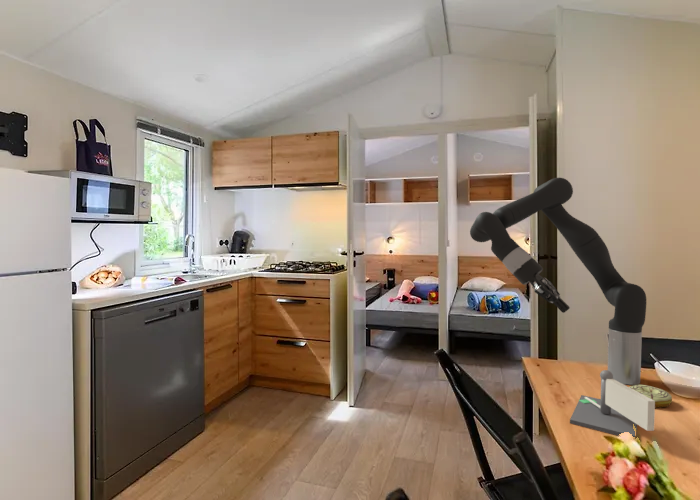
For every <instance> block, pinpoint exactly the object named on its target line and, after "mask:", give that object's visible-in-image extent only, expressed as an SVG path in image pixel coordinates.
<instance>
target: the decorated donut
mask: <svg viewBox="0 0 700 500" xmlns="http://www.w3.org/2000/svg"><path fill="white" fill-rule="evenodd" d="M628 387H629V388H631V389H633V390H635V391H637V392H639V393H641V394H643V395H645V396H646V397H648V398H650V399H652V400H654V401H655V408H657V409H658V408H666V407H669V406H670V405H671V403H672V402H673V396H672V394H670V393H669V392H668V391H667V390H664V389H662V388H660V387H659V388H658V387H656V386H655V387H654V386H651V385H648V384H636V385H629V386H628Z"/></svg>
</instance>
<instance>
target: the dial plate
mask: <svg viewBox="0 0 700 500" xmlns="http://www.w3.org/2000/svg"><path fill="white" fill-rule="evenodd" d="M584 397H588V398H589V399H591V400H592V401H594V402H595V403H597V404H598V405H600V406H601V398H597V397H591V396H588V395H583V394H582V395H580V397H579V399H578V402H577V403H576V406H575V408H574V410H573V412H572V414H571V416H570V419H569V424H570V425H571V424H572V425H575V426H580V427H583V428H587V429H590V430H591V429H592V430H595V431H599V432H603V433H607V434H611V435H614V436H616V437H617V436H618V435H619V434H621V433H624V432H629V433H630V434H632V436H633V437H635V431H634V429H633V424H634V426H635V428H636V430H638V425H637V424H636V423H634V422H633V421H631V420H630V419H628V418H626V417H625V416H623V415H622V414H620V413H619V412H617V411H616V410H614V409H612V408H611V414H604V413H602V412H600V408H599V407H597V406H596V405H594V404H593V403H591V402H590V401H588V400H587V399H585V398H584ZM618 437H619V436H618Z"/></svg>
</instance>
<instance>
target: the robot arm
mask: <svg viewBox="0 0 700 500" xmlns="http://www.w3.org/2000/svg"><path fill="white" fill-rule="evenodd" d="M573 193H574V189H573V185H572V184H571V182H570V181H569V180H568V179H566V178H564V177H553V178H551V179H550V180H547V181H546V182H544V183H542V184H540V185H539V186H537V187H536V188H535V189H534V190H533V193H530V194H528V195H525V196H523V197H521V198H518V199H516V200H513V201H512V202H509V203H507V204H505V205H503V206H500V207H498V208H497V209H495V210H494V211H493V213H492V212H489V211H483V212H480V213H479V214H478V215H477V217H476V218H475V220H474V222H473V224H472V225H471V228H470V231H469V234H470V237H471V239H472V240H473V241H474V242H476V243H487V242H488V241H491V247H490V250H491V252H492V253H493V254H494V255H495V257H497V259H498V260H499V261H500V262H501V263H502V264H503V265H504V267H505V268H506V269H507V270H508V271H509V272H510V273H511V274H512V276H513V277H515V278H516V280H517V281H518V282H519V283H520V284H521V285H527V284H528V283H530V285H531V286H532V287H531V288H532V289H533V291H534V293H535V294H537V295H538V296H539V297H541V298H542V299H544V300H545V301H546V302H548V303H550V304H553V305H554V306H555V307H556V308H557V309H558V310H560V312H561V313H563V314H564V313H566V312H567V311H568V310H569V309H570V308H571V307H570V306H569V305H568V304H567V303H566V302H565V301H564V300H563V299H562V298H561V296H560V295H561V293H560V292H559V291H558V289H556V287H555V285H553V282H551V281H550V280H549V279H547V278H546V277H543V276H542V275H540V273H542V272H543V270H544V268H543V266H541V264H540V263H538V261H537V260H535V258H534V257H533V256H532V255H530V254H529V253H528V252H527V251H526V250H525V249H523V248H522V247H521V246H520V245H519V244H518V243H517V242H516V241H515V240H514V239H513V238H512V237H511V236H510V234H509V232H508V231H507V229H508V228H511V227H513V226H514V225H516V224H518V223H520V222H523V221H524V220H526V219H527V218H529V217H530V216H531V217H532V216H533V215H535V214H536V213H539V211H541V212H542V213H543V214H544V215H545V216H546V217H547V218H548V220H549V221H550V222H551V223H552V224H553V225H554V226H555V228H556V229H557V230H558V231H559V233H560V234H561V235H562V237H563V238H564V239H565V241H566V242H567V244H568V245H569V246H570V248H571V250H572V251H573V252H574V253H575V255H576V257H577V258H578V259H579V261H580V262H581V263H582V264H583V266H584V267H585V268H586V270H587V271H588V272H589V273H590V274H591V276H592V277H593V278H594V280H595V281H596V283H597V285H598V287H599V288H600V290H601V292H602V294H603V295H604V297H605V299H606V301H607V302H608V304H610V305H611V306H612V307H614V315H613V317H612V318H611V319H610V320H609V321H608V340H607V341H608V342H607V343H608V346H607V370H608V371H610V372H611V373H612V374H613V379H614V380H616V381H618V382H620V383H622V384H624V385H629V386H633V385H641V374H642V372H641V371H642V370H641V369H642V342H643V341H642V339H643V338H642V337H643V336H642V335H643V334H642V333H643V332H642V331H643V327H644V324H645V322H646V314H647V313H646V312H647V295H646V292H645V290H644V289H643V288H642V287H641V286H639V284H638V285H637V284H635V283H630V282H627V281H626V280H625V278H623V276H622V275H621V274H620V273H619V271H618V270H617V269H616V268H615V266H614V265H613V262H612V258H611V255H610V251H609V248H608V247H607V245H606V243H605V241H604V240H603V239H602V237H601V236H600V235H599V233H598V232H597V230H596V229H594V228H593V227H591V226H590V225H589V224H587V223H585V222H583V221H581V220H580V219H578V218H576V217H574V216H572V214H570V213H569V212H568V211H567V210H566V208H565V207H564V206H563V205H564V204H566V203H567V202H569V200H570V199H571V198H572V196H573Z"/></svg>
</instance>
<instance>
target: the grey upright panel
mask: <svg viewBox="0 0 700 500" xmlns="http://www.w3.org/2000/svg"><path fill="white" fill-rule="evenodd" d="M599 377H600V399H601V406H600V405H598V404H597V403H595V402H594V401H592V400H591V399H589V398H588V397H589V396H588V397H584V398H585V399H587V400H588V401H590V402H591V403H593V404H594V405H596V406H597V407H599V408H600V412H602V413H604V414H611V408H612V409H614V410H616V411H617V412H619V413H620V414H622V415H623V416H625V417H626V418H628V419H630V420H631V421H633V422H634V423H636V424H637V426H639V427H640V428H642V429H643V430H645V431H647V432H648V431H650V432H651V431H655V413H656V412H655V411H656V409H655V408H656V407H655V401H654V400H652V399H650V398H648V397H646V396H645V395H643V394H641V393H639V392H637V391H635V390H633V389H631V388H629V387H630V386H627V384H622V383H620V382H618V381H616V380H614V379H613V374H612V373H611V372H610V371H608V369H603V370H601V372H600V373H599Z"/></svg>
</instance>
